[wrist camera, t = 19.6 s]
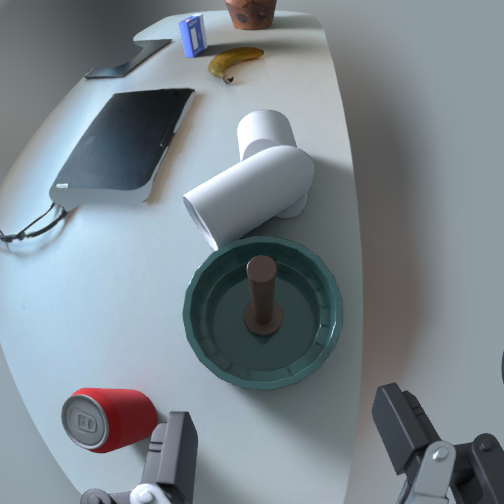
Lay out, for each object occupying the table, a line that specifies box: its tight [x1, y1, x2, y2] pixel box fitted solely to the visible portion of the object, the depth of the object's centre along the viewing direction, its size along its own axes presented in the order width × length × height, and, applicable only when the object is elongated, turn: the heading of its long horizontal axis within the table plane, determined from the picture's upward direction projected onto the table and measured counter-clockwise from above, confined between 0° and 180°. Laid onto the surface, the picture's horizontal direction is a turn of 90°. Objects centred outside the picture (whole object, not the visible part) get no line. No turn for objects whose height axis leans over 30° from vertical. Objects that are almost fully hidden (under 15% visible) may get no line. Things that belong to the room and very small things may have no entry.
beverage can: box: [61, 388, 157, 453], centre depth 24 cm, size 7×7×12 cm
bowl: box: [183, 236, 343, 390], centre depth 32 cm, size 17×17×6 cm
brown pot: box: [224, 0, 277, 30], centre depth 67 cm, size 18×20×18 cm
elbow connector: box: [183, 110, 315, 251], centre depth 38 cm, size 18×11×20 cm
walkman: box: [179, 14, 207, 57], centre depth 61 cm, size 8×3×12 cm, turn 155°
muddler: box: [244, 255, 283, 337], centre depth 27 cm, size 4×4×16 cm
